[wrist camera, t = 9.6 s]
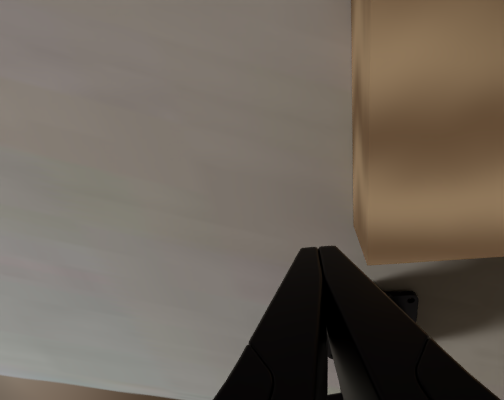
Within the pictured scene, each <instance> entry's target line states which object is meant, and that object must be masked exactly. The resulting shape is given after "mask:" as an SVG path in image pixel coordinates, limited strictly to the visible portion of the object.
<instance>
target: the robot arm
mask: <svg viewBox="0 0 504 400" xmlns="http://www.w3.org/2000/svg"><path fill="white" fill-rule="evenodd" d="M409 298H411V299H409ZM417 309H418V297H417V295H416V293H415V292H413V291H403V292H385V293H384V292H383V291H382V290H381V289H380V288H379V287H378V286H377V285H376V284H375V283H374V282H372V281H371V280H370V279H369V278H368V277H367V276H366V275H365V274H364V273H363V272H362V271H361V270H360V269H359V268H358V267H357V266H356V265H355V264H354V263H353V262H352V261H351V260H350V259H349V258H348V257H346V256H345V255H344V254H343V253H342V252H341V251H340V250H339V249H338V248H337V247H336V246H321V247H319V249H318V248H317V247H308V248H301V249H300V251H299V253H298V254H297V256H296V258H295V260H294V262H293V263H292V265H291V267H290V269H289V271H288V272H287V274H286V276H285V278H284V280H283V281H282V283H281V285H280V287H279V289H278V290H277V292H276V294H275V296H274V298H273V299H272V301H271V303H270V305H269V307H268V308H267V310H266V312H265V314H264V315H263V317H262V319H261V321H260V323H259V324H258V326H257V328H256V330H255V332H254V333H253V335H252V337H251V339H250V341H249V345H247V346H246V347H245V349H244V351H243V353H242V355H241V357H240V358H239V360H238V362H237V363H236V365H235V367H234V368H233V370H232V372H231V373H230V375H229V377H228V378H227V380H226V382H225V383H224V384H223V386H222V387H221V389H220V390H219V392H218V393H217V395H216V396H215V397H214V399H213V400H500V399H499V398H498V397H497V396H496V395H494V394H493V393H492V392H491V391H490V390H488V389H487V388H486V387H485V386H484V385H483V384H481V383H480V382H479V381H478V380H477V379H475V378H474V377H473V376H472V375H471V374H469V373H468V372H467V371H466V370H465V369H464V368H463V367H462V366H461V365H460V364H459V363H457V362H456V361H455V360H454V359H453V358H452V357H451V356H450V355H449V354H448V353H446V352H445V351H444V350H443V349H442V348H441V347H440V346H439V345H438V344H437V343H436V342H435V341H434V340H433V339H432V338H429V336H428V334H427V333H426V332H424V331H423V330H422V329H421V328H420V327H419V326H418V325H417V324H416V318H417ZM328 357H329V358H331V359H333V360H334V364H335V368H336V372H337V376H338V379H339V384H340V390H341V393H336V394H330V395H327V380H328Z"/></svg>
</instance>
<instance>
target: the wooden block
mask: <svg viewBox="0 0 504 400" xmlns="http://www.w3.org/2000/svg"><path fill="white" fill-rule="evenodd" d="M351 23H352V120H353V217H354V228H355V231H356V234H357V237H358V240H359V242H360V245H361V248H362V251H363V254H364V257H365V260H366V263H367V265H382V264H397V263H413V262H428V261H443V260H459V259H474V258H489V257H504V0H351Z"/></svg>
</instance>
